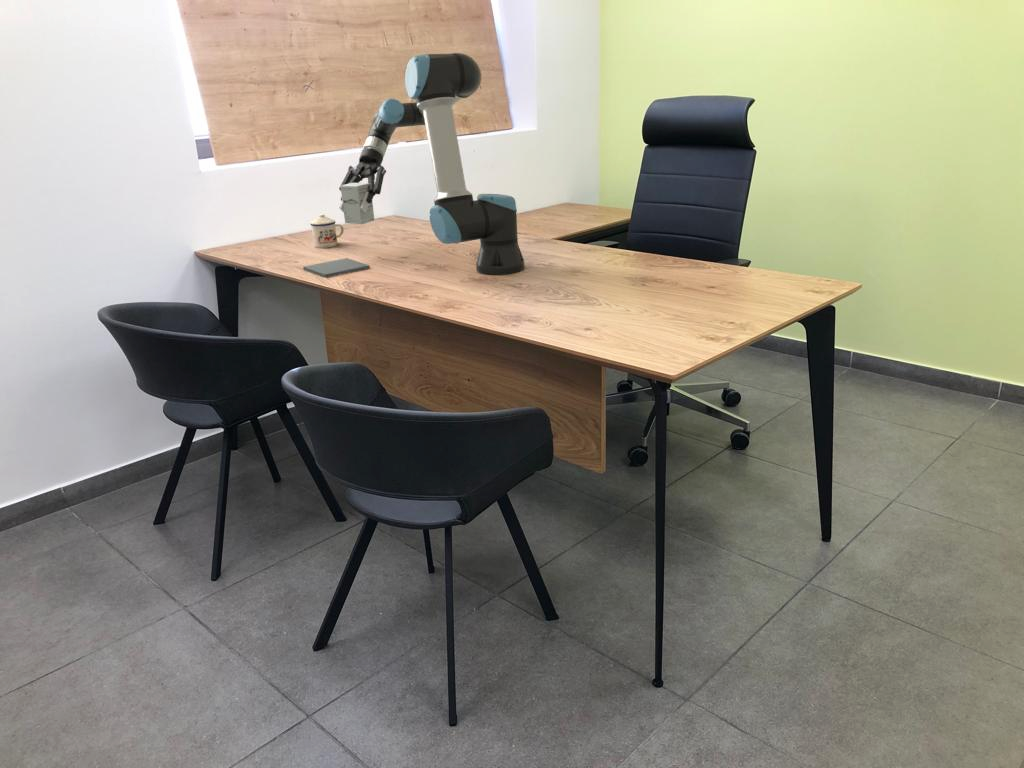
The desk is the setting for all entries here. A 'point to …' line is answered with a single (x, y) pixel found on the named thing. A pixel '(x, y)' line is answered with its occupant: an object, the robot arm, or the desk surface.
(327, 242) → the teacup with lid
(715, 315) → the desk surface
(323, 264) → the slate mat
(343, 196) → the supplement box
